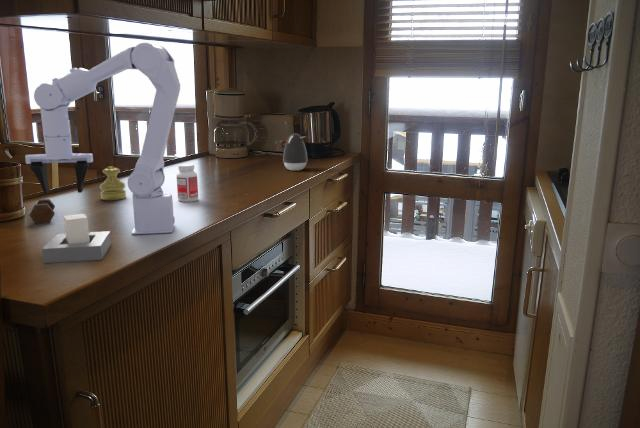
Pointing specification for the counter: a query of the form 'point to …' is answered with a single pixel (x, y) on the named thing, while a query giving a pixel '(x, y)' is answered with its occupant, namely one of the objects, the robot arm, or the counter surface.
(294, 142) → the pump dispenser
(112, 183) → the yellow chess piece
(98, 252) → the socket block
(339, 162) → the counter surface
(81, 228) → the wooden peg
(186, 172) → the pill bottle
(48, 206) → the bolt
